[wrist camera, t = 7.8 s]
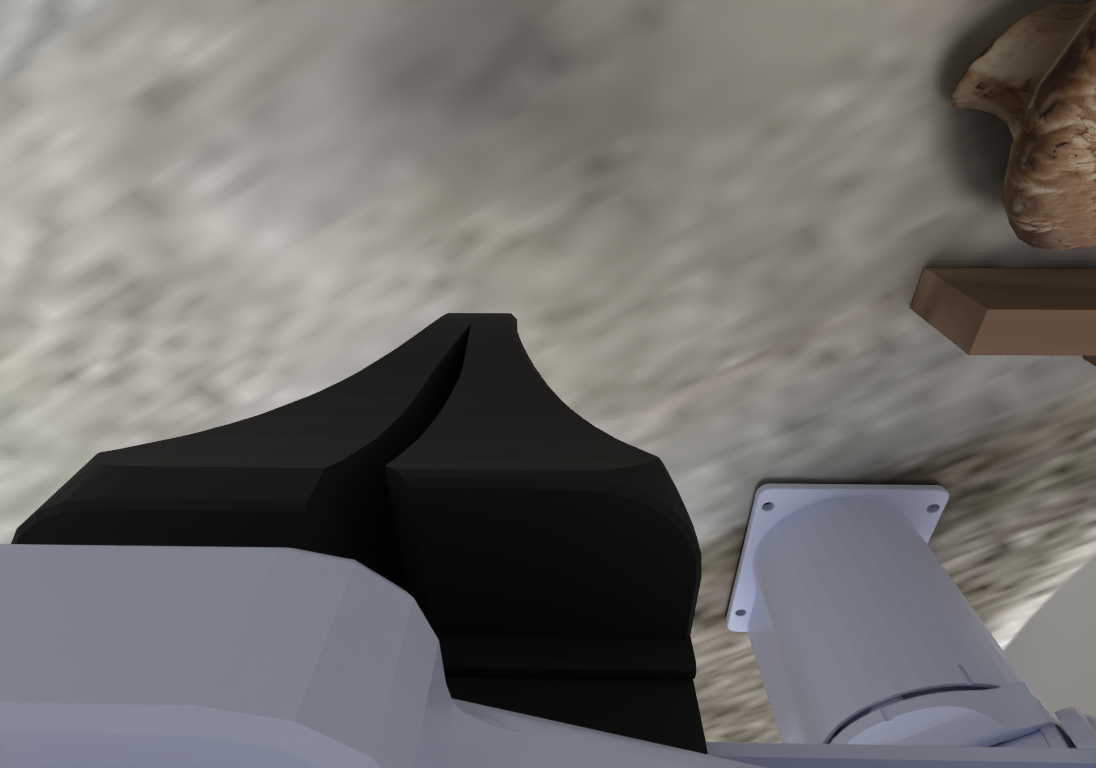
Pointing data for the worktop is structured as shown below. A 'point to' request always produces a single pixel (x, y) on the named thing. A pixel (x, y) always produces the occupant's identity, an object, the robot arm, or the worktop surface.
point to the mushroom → (1044, 121)
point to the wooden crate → (1012, 309)
